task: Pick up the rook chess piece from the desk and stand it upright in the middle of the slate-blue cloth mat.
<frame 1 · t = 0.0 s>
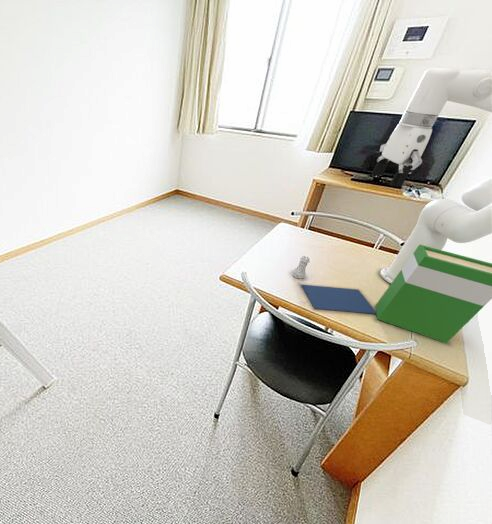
hand: (385, 180, 93), 37 cm above the table, tool pointing down, fingers open, 9 cm apart
cloth: (337, 299, 102), on the table
hardback book: (408, 323, 94), on the table, touching cloth
rook chess piece: (297, 275, 112), on the table
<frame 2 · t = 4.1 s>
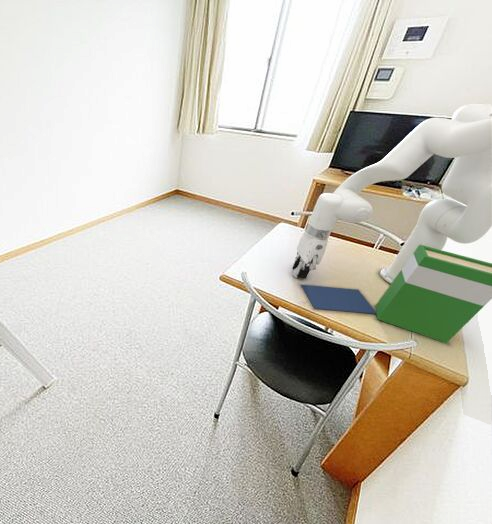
hand: (299, 273, 112), 1 cm above the table, tool pointing down, fingers closed on rook chess piece, 4 cm apart
rook chess piece: (297, 275, 112), on the table, touching gripper
everything else where it was.
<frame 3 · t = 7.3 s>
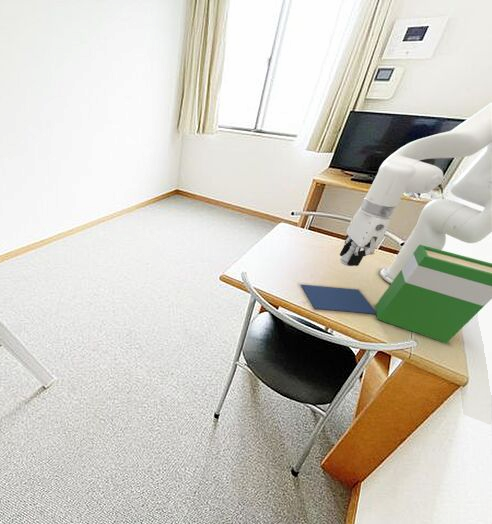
hand: (348, 259, 96), 15 cm above the table, tool pointing down, fingers closed on rook chess piece, 4 cm apart
rook chess piece: (346, 263, 97), point 13 cm above the table, touching gripper
everything else where it was.
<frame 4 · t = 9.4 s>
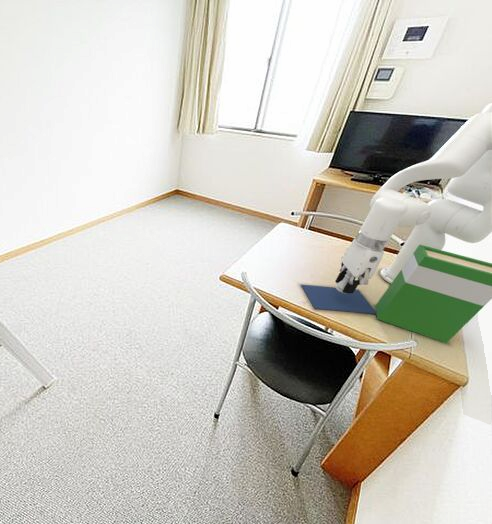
hand: (343, 287, 99), 5 cm above the table, tool pointing down, fingers closed on rook chess piece, 4 cm apart
rook chess piece: (342, 290, 100), point 4 cm above the table, touching gripper
everything else where it was.
when the fingers open (2 cm above the table, at t = 10.7 s): rook chess piece stays where it is, resting on cloth.
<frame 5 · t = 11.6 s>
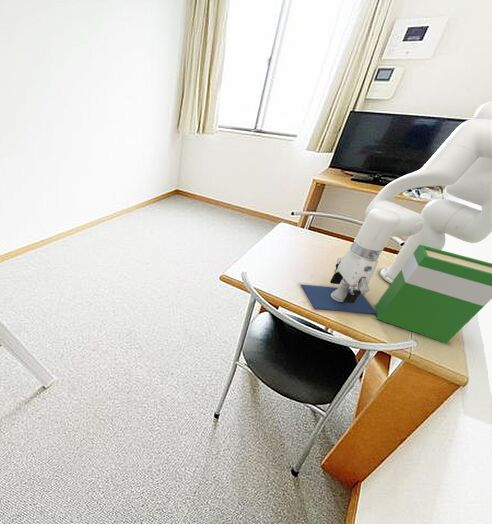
hand: (341, 292, 101), 3 cm above the table, tool pointing down, fingers open, 9 cm apart
rook chess piece: (337, 298, 102), resting on cloth
everything else where it was.
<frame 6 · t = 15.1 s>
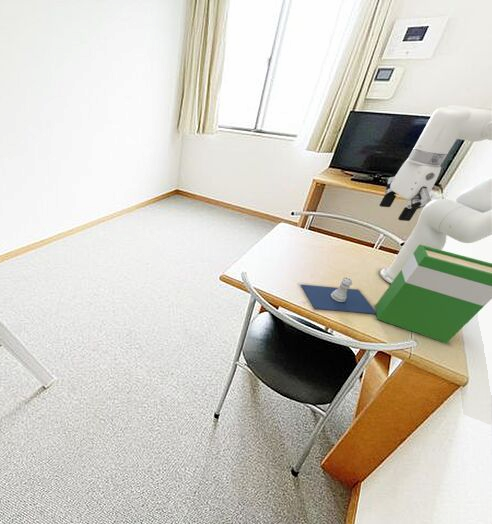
hand: (393, 213, 94), 28 cm above the table, tool pointing down, fingers open, 9 cm apart
nothing on the table moved.
at the end: rook chess piece inside the target area on the cloth (0.0 cm from its centre), point 0.2 cm above the cloth's base; rook chess piece tilted 0° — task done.
